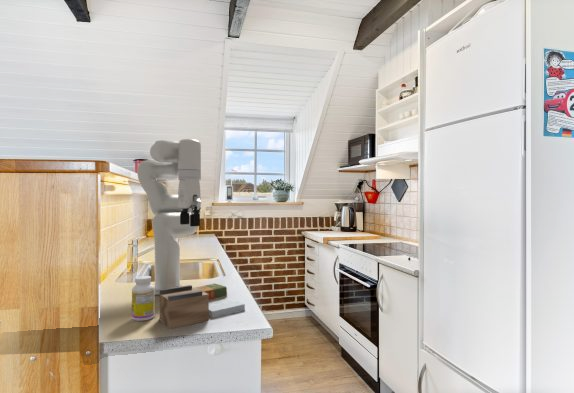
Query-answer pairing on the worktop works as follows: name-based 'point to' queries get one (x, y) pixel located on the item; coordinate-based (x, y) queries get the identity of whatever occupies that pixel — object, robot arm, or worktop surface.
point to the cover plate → (225, 308)
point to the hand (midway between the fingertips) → (189, 225)
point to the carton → (214, 291)
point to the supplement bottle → (143, 299)
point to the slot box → (183, 306)
